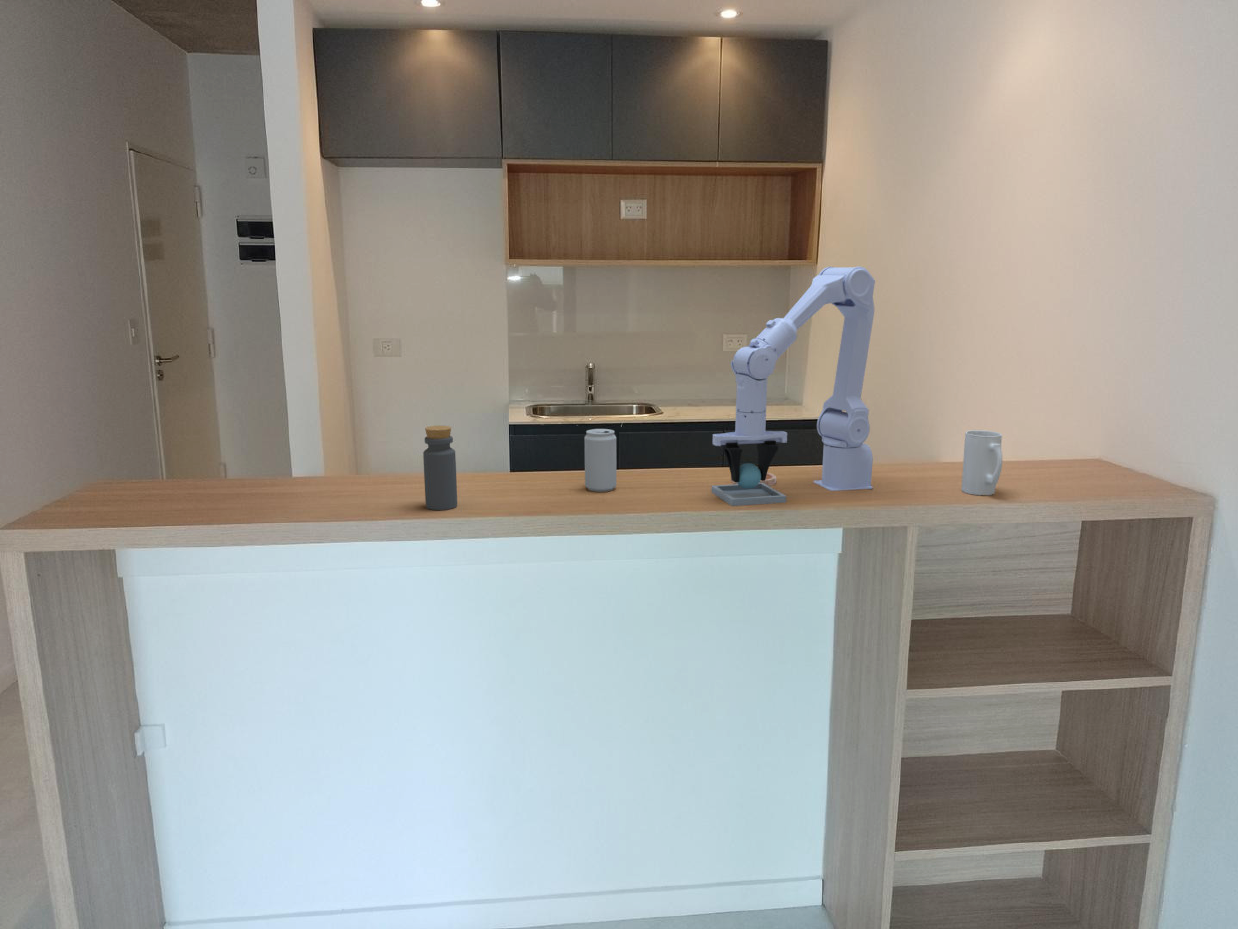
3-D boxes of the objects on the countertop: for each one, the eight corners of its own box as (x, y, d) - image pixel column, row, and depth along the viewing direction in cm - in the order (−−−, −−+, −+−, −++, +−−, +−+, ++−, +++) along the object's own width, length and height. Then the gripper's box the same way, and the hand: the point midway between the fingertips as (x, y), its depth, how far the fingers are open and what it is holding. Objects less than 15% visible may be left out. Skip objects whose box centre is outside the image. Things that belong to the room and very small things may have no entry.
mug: (953, 488, 177) (958, 430, 174) (983, 487, 178) (989, 429, 175) (981, 501, 167) (987, 440, 164) (1013, 499, 168) (1019, 439, 165)
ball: (755, 485, 171) (756, 460, 170) (764, 491, 166) (765, 465, 165) (731, 486, 170) (732, 461, 169) (739, 492, 165) (740, 466, 164)
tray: (762, 490, 175) (763, 482, 174) (786, 504, 164) (786, 496, 164) (711, 493, 172) (711, 485, 172) (731, 507, 162) (731, 499, 161)
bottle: (419, 506, 162) (415, 427, 159) (446, 500, 166) (442, 423, 163) (436, 512, 158) (433, 431, 155) (463, 506, 162) (460, 427, 159)
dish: (764, 477, 186) (765, 469, 186) (783, 487, 177) (783, 479, 177) (724, 479, 184) (724, 472, 183) (741, 489, 175) (741, 482, 175)
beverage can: (612, 493, 172) (612, 434, 169) (581, 491, 173) (581, 432, 171) (619, 486, 178) (619, 428, 175) (588, 484, 179) (588, 427, 177)
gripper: (777, 406, 170) (774, 473, 173) (707, 408, 166) (706, 477, 169) (793, 411, 163) (789, 481, 166) (720, 414, 160) (718, 486, 163)
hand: (748, 480), depth 167 cm, fingers closed on ball, 5 cm apart
